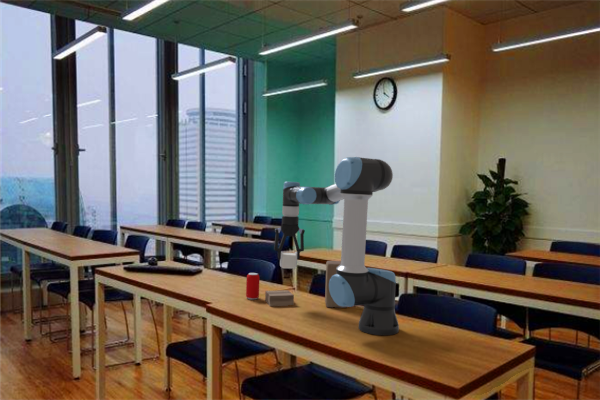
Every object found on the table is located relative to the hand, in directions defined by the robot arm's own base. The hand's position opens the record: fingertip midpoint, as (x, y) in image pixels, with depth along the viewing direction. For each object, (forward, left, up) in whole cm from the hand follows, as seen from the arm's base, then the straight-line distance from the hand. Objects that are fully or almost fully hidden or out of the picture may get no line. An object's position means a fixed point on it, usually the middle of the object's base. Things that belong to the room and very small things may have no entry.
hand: (288, 266), depth 208 cm
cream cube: (0, 0, 0) cm, 0 cm away
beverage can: (+14, +15, -18) cm, 27 cm away
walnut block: (+5, +3, -18) cm, 19 cm away
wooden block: (0, -23, -18) cm, 29 cm away
